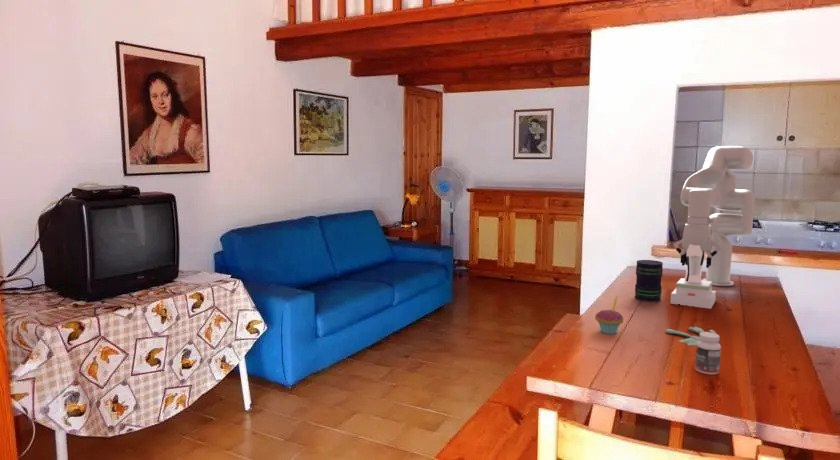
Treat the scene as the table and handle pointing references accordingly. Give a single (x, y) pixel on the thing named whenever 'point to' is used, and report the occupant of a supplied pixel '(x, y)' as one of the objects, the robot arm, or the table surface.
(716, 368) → the pill bottle
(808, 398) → the table surface
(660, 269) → the storage jar
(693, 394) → the table surface
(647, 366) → the table surface
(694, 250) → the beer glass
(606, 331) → the cupcake
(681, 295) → the step stand
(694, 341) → the green flat branched shape
